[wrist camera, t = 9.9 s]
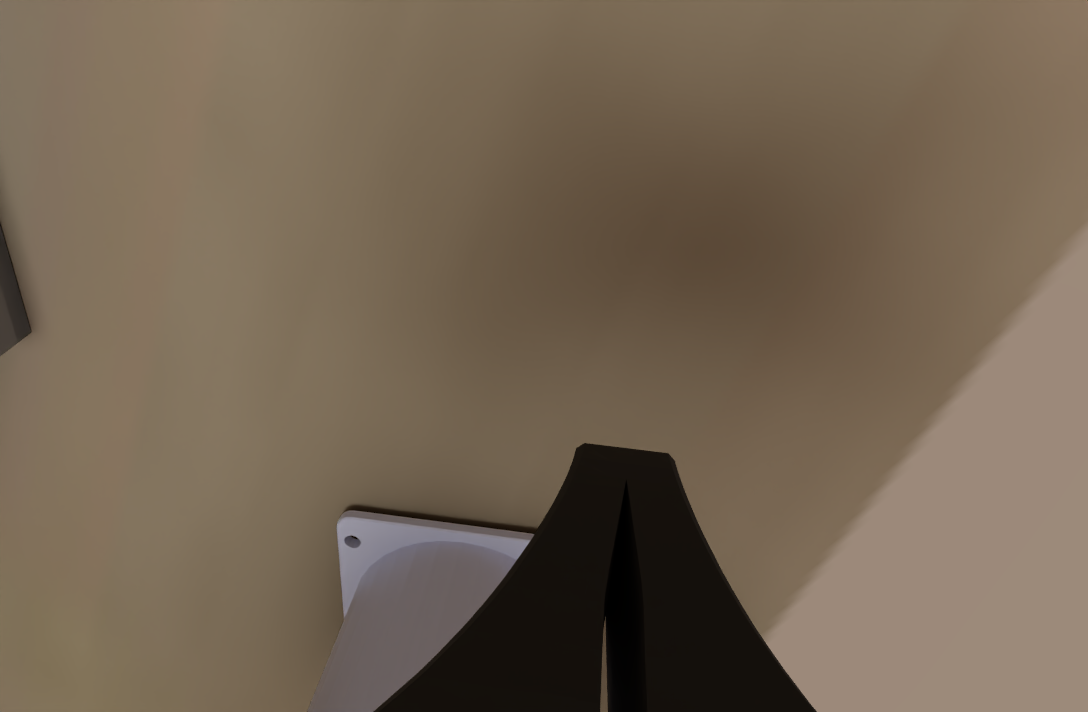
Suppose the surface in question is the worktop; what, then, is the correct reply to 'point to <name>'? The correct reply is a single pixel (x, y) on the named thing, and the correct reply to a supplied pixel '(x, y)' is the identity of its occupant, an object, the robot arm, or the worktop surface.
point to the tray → (10, 304)
